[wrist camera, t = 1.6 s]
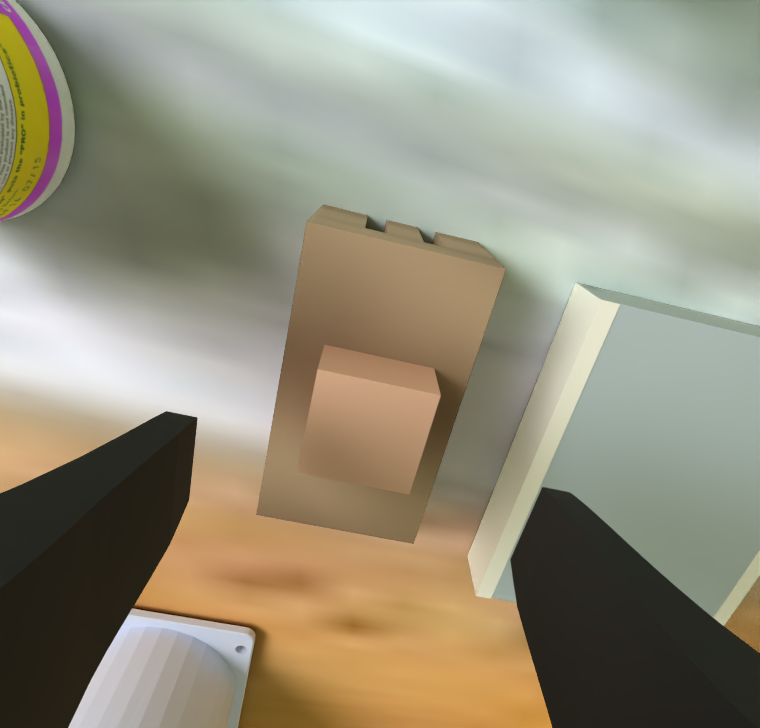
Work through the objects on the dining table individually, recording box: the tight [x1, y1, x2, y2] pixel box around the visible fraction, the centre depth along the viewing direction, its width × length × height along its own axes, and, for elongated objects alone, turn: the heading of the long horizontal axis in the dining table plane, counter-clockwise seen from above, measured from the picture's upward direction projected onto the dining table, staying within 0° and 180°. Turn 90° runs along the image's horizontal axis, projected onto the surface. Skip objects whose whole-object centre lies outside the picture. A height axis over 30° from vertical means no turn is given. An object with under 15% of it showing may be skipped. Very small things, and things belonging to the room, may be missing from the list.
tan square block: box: [297, 345, 441, 495], centre depth 13 cm, size 3×3×2 cm
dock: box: [468, 283, 760, 626], centre depth 18 cm, size 12×10×2 cm
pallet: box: [256, 205, 506, 544], centre depth 16 cm, size 9×5×4 cm, turn 167°
